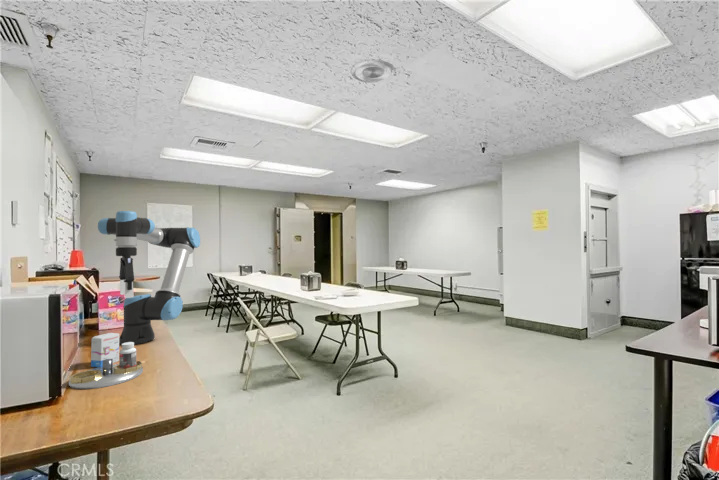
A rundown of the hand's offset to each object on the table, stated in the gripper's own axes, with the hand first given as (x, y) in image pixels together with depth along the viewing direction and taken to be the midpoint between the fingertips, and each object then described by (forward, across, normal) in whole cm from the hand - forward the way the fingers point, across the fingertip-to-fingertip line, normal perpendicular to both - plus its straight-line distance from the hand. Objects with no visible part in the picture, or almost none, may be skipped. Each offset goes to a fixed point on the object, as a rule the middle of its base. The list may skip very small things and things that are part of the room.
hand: (126, 296), depth 150 cm
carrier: (+27, +21, -9) cm, 35 cm away
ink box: (+27, +3, -8) cm, 28 cm away
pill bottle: (+26, +21, -2) cm, 33 cm away
